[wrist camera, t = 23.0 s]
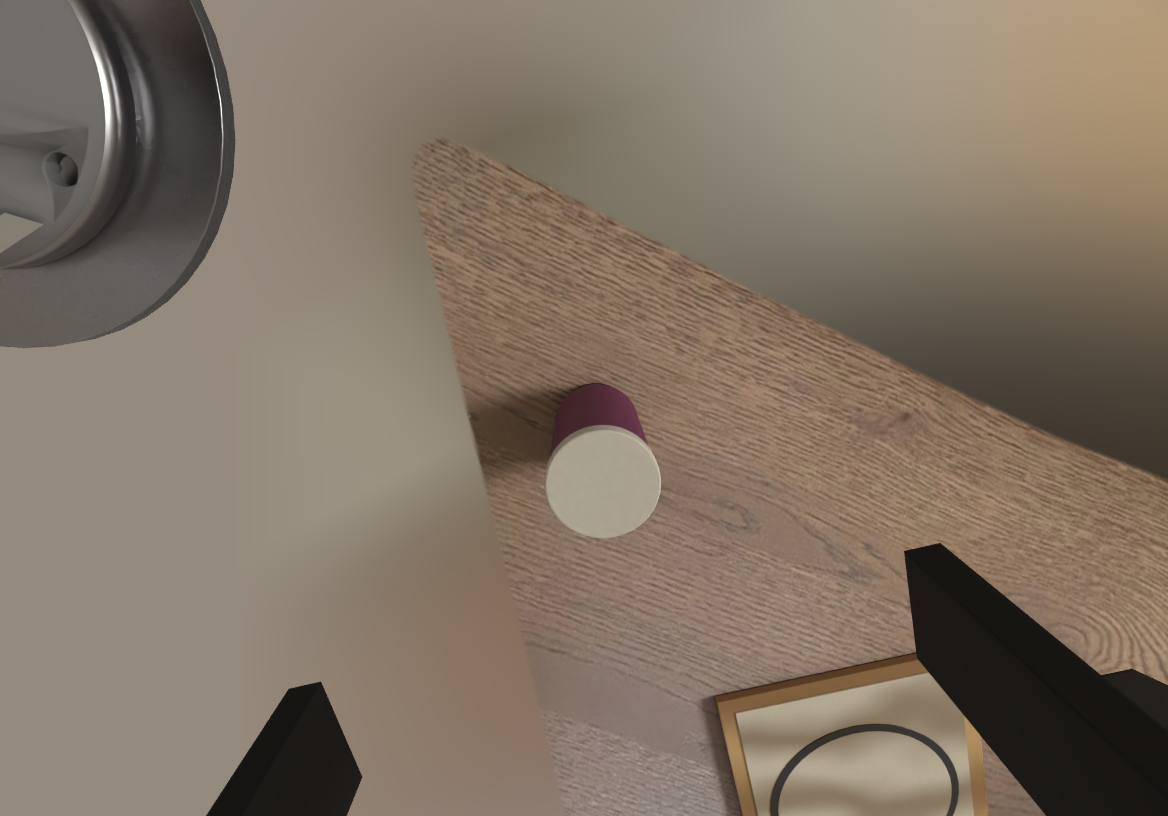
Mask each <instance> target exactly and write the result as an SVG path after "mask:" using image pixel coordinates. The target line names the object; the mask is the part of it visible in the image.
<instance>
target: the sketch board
mask: <svg viewBox="0 0 1168 816" xmlns="http://www.w3.org/2000/svg"><path fill="white" fill-rule="evenodd" d="M715 700H716V704H717V708H718V713H719V717H720V721H721V726H722V730H723V734H724V739H725V743H726V748H727V752H728V756H729V761H730V765H731V769H732V774H733V778H734V782H735V787H736V791H737V795H738V800H739V804H740V809H741V813H742V816H988V808H987V798H986V787H985V776H984V765H983V754H982V743H981V736H980V734H979V733H978V732H977V731H976V730H975V728H974V727H973V726H972V725H971V723H970V722H969V721H968V720H967V719H966V717H965V716H964V715H963V714H962V712H961V711H960V710H959V709H958V708H957V706H956V705H955V704H954V703H953V702H952V700H951V699H950V698H949V697H948V695H947V694H946V693H945V692H944V691H943V689H942V688H941V687H940V686H939V684H938V683H937V682H936V681H935V680H934V678H933V677H932V676H931V675H930V674H929V672H928V671H927V670H926V669H925V667H924V666H923V665H922V664H921V663H920V661H919V660H918V659H917V654H916V653H915V654H911V655H906V656H901V657H897V658H892V659H887V660H883V661H878V662H873V663H869V664H864V665H859V666H855V667H850V668H845V669H841V670H836V671H831V672H827V673H822V674H817V675H813V676H808V677H803V678H799V679H794V680H789V681H785V682H780V683H775V684H771V685H766V686H761V687H757V688H752V689H747V690H743V691H738V692H733V693H729V694H724V695H719V696H715Z"/></svg>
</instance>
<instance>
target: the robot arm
mask: <svg viewBox="0 0 1168 816" xmlns="http://www.w3.org/2000/svg"><path fill="white" fill-rule="evenodd" d="M135 150H136V112H135V103H134V98H133V92H132V87H131V83H130V79H129V76H128V72H127V69H126V66H125V63H124V60H123V57H122V55H121V52H120V49H119V47H118V45H117V43H116V41H115V38H114V36H113V34H112V32H111V30H110V28H109V26H108V25H107V23H106V21H105V19H104V17H103V16H102V14H101V12H100V11H99V9H98V8H97V6H96V5H95V3H94V2H93V0H0V270H2V269H19V268H28V267H33V266H38V265H43V264H46V263H49V262H52V261H55V260H58V259H60V258H62V257H64V256H66V255H69V254H71V253H72V252H74V251H75V250H77V249H79V248H80V247H82V246H83V245H85V244H86V243H87V242H88V241H90V240H91V239H92V238H93V237H94V236H95V235H96V234H97V233H98V232H99V231H100V230H101V229H102V228H103V227H104V226H105V225H106V223H107V222H108V221H109V219H110V218H111V217H112V216H113V214H114V212H115V211H116V209H117V207H118V206H119V204H120V202H121V200H122V198H123V195H124V193H125V191H126V189H127V186H128V183H129V179H130V176H131V173H132V168H133V163H134V158H135ZM904 554H905V563H906V571H907V579H908V587H909V596H910V604H911V612H912V621H913V629H914V637H915V645H916V654H917V659H918V660H919V661H920V663H921V664H922V665H923V666H924V667H925V669H926V670H927V671H928V672H929V674H930V675H931V676H932V677H933V678H934V680H935V681H936V682H937V683H938V684H939V686H940V687H941V688H942V689H943V691H944V692H945V693H946V694H947V695H948V697H949V698H950V699H951V700H952V702H953V703H954V704H955V705H956V706H957V708H958V709H959V710H960V711H961V712H962V714H963V715H964V716H965V717H966V719H967V720H968V721H969V722H970V723H971V725H972V726H973V727H974V728H975V730H976V731H977V732H978V733H979V734H980V736H981V737H982V738H983V739H984V740H985V742H986V743H987V744H988V745H989V747H990V748H991V749H992V750H993V751H994V753H995V754H996V755H997V756H998V758H999V759H1000V760H1001V761H1002V762H1003V764H1004V765H1005V766H1006V767H1007V768H1008V770H1009V771H1010V772H1011V773H1012V775H1013V776H1014V777H1015V778H1016V779H1017V781H1018V782H1019V783H1020V784H1021V786H1022V787H1023V788H1024V789H1025V790H1026V792H1027V793H1028V794H1029V795H1030V796H1031V798H1032V799H1033V800H1034V801H1035V803H1036V804H1037V805H1038V806H1039V807H1040V809H1041V810H1042V811H1043V812H1044V814H1045V815H1046V816H1168V685H1166V684H1164V683H1162V682H1160V681H1157V680H1155V679H1153V678H1151V677H1149V676H1147V675H1144V674H1142V673H1140V672H1138V671H1136V670H1133V669H1129V670H1124V671H1119V672H1114V673H1110V674H1105V675H1100V674H1099V673H1098V672H1096V671H1095V670H1094V669H1093V668H1092V667H1090V666H1089V665H1088V664H1087V663H1085V662H1084V661H1083V660H1082V659H1081V658H1079V657H1078V656H1077V655H1076V654H1075V653H1073V652H1072V651H1071V650H1070V649H1068V648H1067V647H1066V646H1065V645H1064V644H1062V643H1061V642H1060V641H1059V640H1058V639H1056V638H1055V637H1054V636H1053V635H1051V634H1050V633H1049V632H1048V631H1047V630H1045V629H1044V628H1043V627H1042V626H1040V625H1039V624H1038V623H1037V622H1036V621H1034V620H1033V619H1032V618H1031V617H1030V616H1028V615H1027V614H1026V613H1025V612H1023V611H1022V610H1021V609H1020V608H1019V607H1017V606H1016V605H1015V604H1014V603H1012V602H1011V601H1010V600H1009V599H1008V598H1006V597H1005V596H1004V595H1003V594H1002V593H1000V592H999V591H998V590H997V589H995V588H994V587H993V586H992V585H991V584H989V583H988V582H987V581H986V580H984V579H983V578H982V577H981V576H980V575H978V574H977V573H976V572H975V571H974V570H972V569H971V568H970V567H969V566H967V565H966V564H965V563H964V562H963V561H961V560H960V559H959V558H958V557H956V556H955V555H954V554H953V553H952V552H950V551H949V550H948V549H947V548H946V547H944V546H943V545H942V544H941V543H938V544H934V545H929V546H925V547H920V548H916V549H911V550H907V551H904ZM361 779H362V775H361V773H360V771H359V768H358V766H357V764H356V761H355V759H354V757H353V754H352V752H351V750H350V748H349V745H348V743H347V741H346V738H345V736H344V734H343V731H342V729H341V727H340V724H339V722H338V720H337V718H336V715H335V713H334V711H333V708H332V706H331V704H330V701H329V699H328V697H327V695H326V692H325V690H324V688H323V685H322V683H321V682H317V683H313V684H308V685H304V686H299V687H295V688H291V689H288V691H287V692H286V694H285V696H284V697H283V699H282V700H281V702H280V703H279V705H278V706H277V708H276V709H275V711H274V712H273V714H272V715H271V717H270V719H269V720H268V722H267V723H266V725H265V726H264V728H263V729H262V731H261V732H260V734H259V736H258V737H257V739H256V740H255V742H254V743H253V745H252V746H251V748H250V749H249V751H248V752H247V754H246V755H245V757H244V758H243V760H242V762H241V763H240V765H239V766H238V768H237V769H236V771H235V772H234V774H233V775H232V777H231V778H230V780H229V781H228V783H227V785H226V786H225V788H224V789H223V791H222V792H221V794H220V795H219V797H218V799H217V800H216V802H215V803H214V804H213V806H212V808H211V809H210V811H209V812H208V814H207V815H206V816H347V814H348V811H349V809H350V806H351V804H352V801H353V799H354V796H355V794H356V791H357V789H358V786H359V784H360V781H361Z"/></svg>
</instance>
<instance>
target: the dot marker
mask: <svg viewBox="0 0 1168 816" xmlns="http://www.w3.org/2000/svg"><path fill="white" fill-rule="evenodd" d="M660 490H661V476H660V471H659V468H658V464H657V462H656V459H655V457H654V455H653V453H652V451H651V450H650V448H649V447H648V444H647V441H646V438H645V435H644V432H643V429H642V427H641V424H640V421H639V418H638V415H637V412H636V410H635V408H634V405H633V404H632V402H631V401H630V400H629V398H628V397H627V396H626V395H625V394H623V393H622V392H621V391H619V390H617V389H615V388H613V387H611V386H608V385H606V384H601V383H591V384H586V385H583V386H581V387H579V388H577V389H576V390H574V391H573V392H572V393H570V394H569V395H568V396H567V397H566V398H565V399H564V400H563V402H562V403H561V404H560V406H559V408H558V411H557V414H556V418H555V425H554V433H553V440H552V448H551V456H550V459H549V462H548V465H547V469H546V475H545V493H546V498H547V501H548V504H549V506H550V508H551V510H552V512H553V513H554V514H555V516H556V517H557V518H558V519H559V520H560V521H561V522H562V523H563V524H564V525H565V526H566V527H568V528H569V529H571V530H573V531H575V532H577V533H579V534H581V535H584V536H588V537H593V538H611V537H617V536H620V535H623V534H626V533H628V532H630V531H632V530H634V529H635V528H637V527H638V526H639V525H641V524H642V523H643V522H644V521H645V520H646V519H647V518H648V517H649V516H650V514H651V513H652V511H653V510H654V508H655V506H656V504H657V502H658V499H659V495H660Z"/></svg>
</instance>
